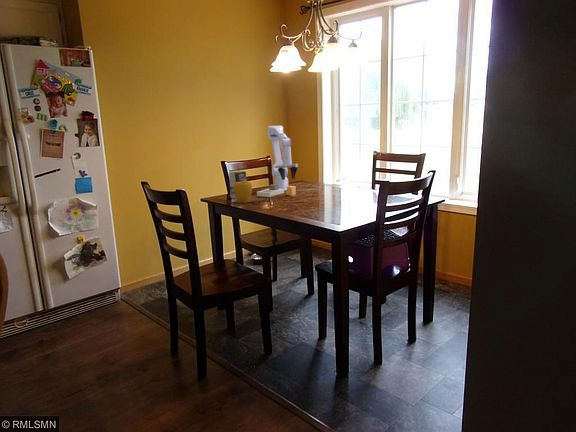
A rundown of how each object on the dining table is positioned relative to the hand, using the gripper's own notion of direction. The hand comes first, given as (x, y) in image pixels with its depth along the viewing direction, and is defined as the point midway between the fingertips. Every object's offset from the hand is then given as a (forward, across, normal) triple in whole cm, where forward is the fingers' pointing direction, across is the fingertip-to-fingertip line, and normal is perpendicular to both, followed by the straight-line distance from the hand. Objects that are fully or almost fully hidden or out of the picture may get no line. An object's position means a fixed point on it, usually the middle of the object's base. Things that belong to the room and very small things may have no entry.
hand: (288, 179), depth 271 cm
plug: (+10, 0, +3) cm, 10 cm away
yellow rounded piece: (+12, -14, -28) cm, 34 cm away
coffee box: (+9, -26, -18) cm, 33 cm away
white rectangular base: (+9, -12, -3) cm, 16 cm away
